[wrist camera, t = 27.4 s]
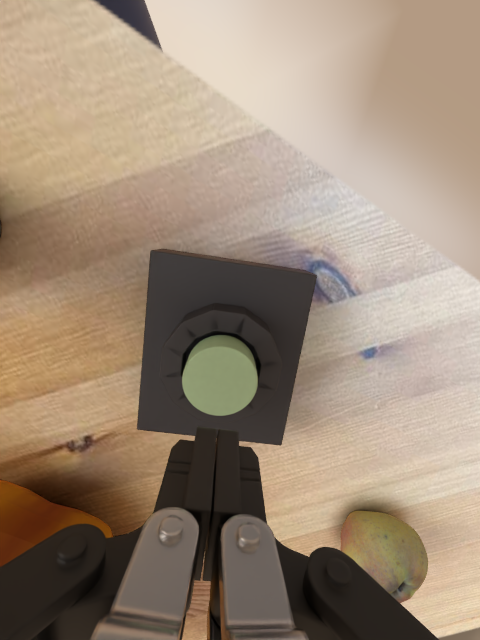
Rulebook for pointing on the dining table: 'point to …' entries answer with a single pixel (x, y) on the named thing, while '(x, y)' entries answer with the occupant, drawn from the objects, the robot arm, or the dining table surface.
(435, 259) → the dining table surface
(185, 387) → the green button cap
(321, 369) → the dining table surface
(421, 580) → the apple
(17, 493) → the decorative pumpkin
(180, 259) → the button housing
